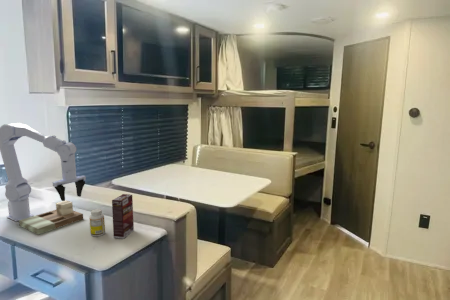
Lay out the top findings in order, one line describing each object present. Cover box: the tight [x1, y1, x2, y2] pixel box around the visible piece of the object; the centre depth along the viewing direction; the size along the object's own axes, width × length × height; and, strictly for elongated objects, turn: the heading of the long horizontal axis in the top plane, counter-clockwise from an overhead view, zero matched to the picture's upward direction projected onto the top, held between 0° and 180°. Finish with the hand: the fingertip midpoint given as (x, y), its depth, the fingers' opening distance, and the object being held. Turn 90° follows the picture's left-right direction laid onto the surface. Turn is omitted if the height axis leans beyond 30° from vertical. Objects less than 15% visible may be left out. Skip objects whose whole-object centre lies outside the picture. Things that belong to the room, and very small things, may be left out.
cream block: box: [55, 199, 74, 216], centre depth 145 cm, size 5×5×5 cm
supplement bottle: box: [89, 208, 106, 237], centre depth 128 cm, size 6×6×10 cm
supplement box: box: [111, 193, 135, 240], centre depth 128 cm, size 9×5×16 cm, turn 168°
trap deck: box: [18, 209, 84, 235], centre depth 141 cm, size 16×20×2 cm
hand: (71, 198), depth 145 cm, fingers open, 7 cm apart
